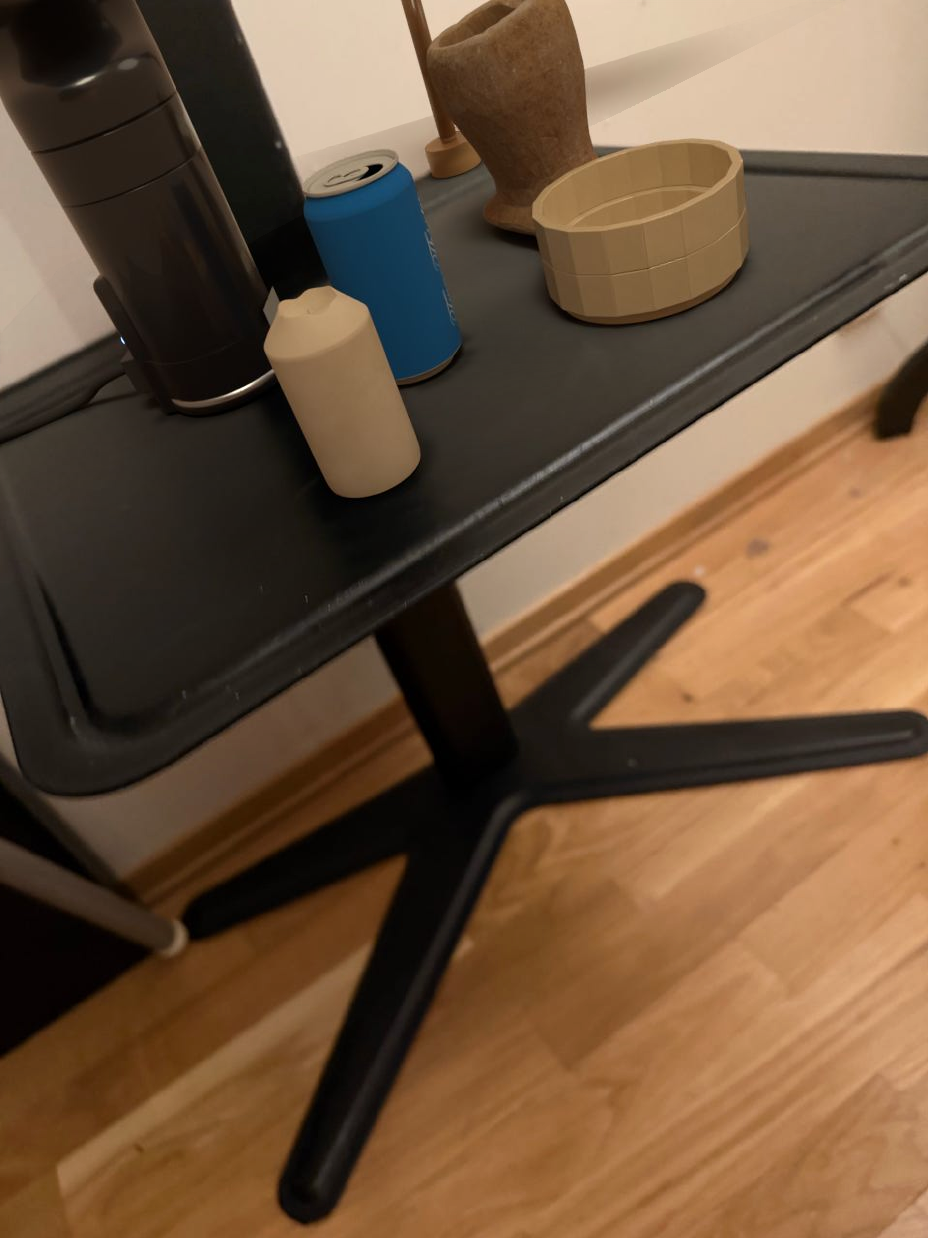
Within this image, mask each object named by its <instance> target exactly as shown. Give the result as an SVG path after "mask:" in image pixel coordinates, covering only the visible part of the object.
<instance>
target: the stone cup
mask: <svg viewBox="0 0 928 1238" xmlns="http://www.w3.org/2000/svg"><path fill="white" fill-rule="evenodd" d="M427 67H428V70H429V74H430V77H431V80H432V83H433V86H434V89H435V91H436V93H437V95H438V97H439V99H440V101H441V103H442V105H443V107H444V109H445V111H446V112H447V114H448V115H449V117H450V118H451V120H452V121H453V123H454V125H455V128H457V130H458V131H459V130H460V132H461V133H462V135H463V136H464V137H465V138H466V140H467V141H468V142H469V143H470V145H471V146H472V147H473V148H474V150H475V151H476V153H477V154H478V155H479V157H480V158H481V162H482V163H483V164H484V166H485V168H486V169H487V171H488V172H489V174H490V176H491V177H492V180H493V182H494V185H495V192H496V193H495V195H493V196H492V197H491V199H489V201H488V202H487V203H486V205H485V206H484V207H483V213H482V215H483V217H484V219H485V220H486V222H488V224H491V225H492V226H494V227H496V228H498V229H501V230H506V231H509V232H513V233H517V234H521V235H522V234H523V235H528V236H535V237H536V233H535V228H534V224H533V219H532V204H533V202H534V201H535V200H536V199H537V197H538V196H539V195H540V193H541V192H542V191H543V190H544V189H545V188H546V187H547V186H549V185H550V184H552V183H553V182H554V181H556V180H557V179H559V178H560V177H561V176H563V175H564V174H566V173H568V172H570V171H572V170H574V169H576V168H578V167H580V166H582V165H584V164H586V163H588V162H590V161H592V160H595V159H598V158H600V157H599V156H598V155H597V153H596V151H595V150H594V146H593V142H592V138H591V137H592V136H591V134H590V127H589V118H588V106H587V91H586V90H587V89H586V88H587V87H586V71H585V65H584V59H583V55H582V50H581V47H580V42H579V38H578V34H577V31H576V27H575V24H574V20H573V17H572V13H571V11H570V8H569V6H568V4H567V1H566V0H488V1H486V2H484V3H483V4H481V5H480V6H478V7H476V8H474V9H473V10H471V11H470V12H468V13H467V14H465V15H464V16H463V17H462V18H461V19H460V20H459V21H457V23H454V24H452V25H450V26H449V27H447V28H444V30H443V31H441V32H440V33H439V34H438V35H437V36H436V37H434V39H433V40H432V43H431V45H430V46H429V48H428V50H427Z"/></svg>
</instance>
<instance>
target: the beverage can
mask: <svg viewBox="0 0 928 1238" xmlns="http://www.w3.org/2000/svg"><path fill="white" fill-rule="evenodd" d="M399 160H400V159H399V154H398V152H397V151H396V150H395V149H390V148H389V149H388V148H383V149H382V148H381V149H380V148H379V149H374V150H368V151H364V152H360V153H356V154H352V155H349V156H347V157H344V158H341V159H339V160H337V161H335V162H332V163H330V164H327V166H324V167H323V168H321V169H319V170H318V171H316V172H314V173H313V174H312V175H310V176H309V177H308V178H307V179H305V181H304V182H303V183H302V186H301V190H302V193H303V195H304V196H305V199H304V204H303V216H304V219H305V222H306V225H307V227H308V229H309V232H310V234H311V237H312V239H313V242H314V244H315V247H316V249H317V252H318V254H319V257H320V260H321V261H322V265H323V267H324V270H325V272H326V275H327V278H328V281H329V283H330V286H331V287H332V288H334V289H336V290H337V291H339V292H341V293H343V294H345V295H347V296H349V297H351V298H353V299H355V300H357V301H360V302H361V303H363V304H365V305H366V306H367V308H368V310H369V312H370V315H371V318H372V320H373V323H374V326H375V328H376V331H377V334H378V336H379V339H380V342H381V344H382V347H383V350H384V352H385V355H386V358H387V360H388V363H389V366H390V368H391V371H392V374H393V376H394V379H395V382H396V385H397V386H400V385H401V386H403V385H410V384H415V383H418V382H421V381H425V380H426V379H429V378H431V377H433V376H435V375H437V374H439V373H440V372H441V371H442V370H444V369H445V368H446V367H447V366H449V364H450V363H451V362H452V361H453V359H454V355H455V354H457V352H458V350H459V349H460V347H461V345H462V342H463V337H462V333H461V331H460V326H459V323H458V320H457V316H456V314H455V310H454V307H453V304H452V300H451V297H450V294H449V291H448V288H447V284H446V280H445V277H444V274H443V271H442V268H441V265H440V262H439V258H438V255H437V252H436V249H435V245H434V242H433V239H432V235H431V233H430V229H429V226H428V223H427V219H426V216H425V213H424V212H425V211H424V209H423V207H422V203H421V200H420V199H421V198H420V197H419V193H418V190H417V187H416V184H415V180H414V177H413V175H412V173H411V171H410V170H409V169H408V168H407V167H406V166H405V165H403V164H402V163H401V162H400V161H399Z"/></svg>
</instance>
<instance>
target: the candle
mask: <svg viewBox="0 0 928 1238" xmlns="http://www.w3.org/2000/svg"><path fill="white" fill-rule="evenodd" d="M279 302H280V303H279V305H278V309H277V313H276V316H275V319H274V321H273V323H272V325H271V327H270V330H269V332H268V334H267V337H266V340H265V343H264V351H265V353H266V355H267V357H268V360H269V362H270V364H271V366H272V368H273V370H274V372H275V374H276V377H277V379H278V381H279V382H278V383H279V385H280V387H281V390H282V391H283V393H284V395H285V398H286V400H287V402H288V404H289V406H290V408H291V411H292V413H293V415H294V417H295V420H296V421H297V424H298V425H299V427H300V430H301V431H302V435H303V436H304V438H305V440H306V442H307V445H308V446H309V448H310V451H311V453H312V455H313V456H314V460H316V463H317V466H318V469H320V472H321V473H322V476H323V478H324V480H325V482H326V484H327V486H328V487H329V488H330V489H331V491H332V492H333V493H334V494H335V495H337V496H340V497H343V498H348V499H349V498H350V499H360V498H366V497H371V496H374V495H378V494H381V493H384V492H386V491H388V490H390V489H392V488H395V487H396V486H397V485H399V484H401V483H402V482H403V481H406V479H407V478H408V477H410V476H411V474H412V473H413V472H414V471H415V470H416V468H417V467H418V465H419V464H420V460H421V448H420V445H419V441H418V439H417V435H416V433H415V429H414V427H413V425H412V422H411V420H410V417H409V414H408V411H407V408H406V406H405V404H404V401H403V397H402V395H401V393H400V389H399V387H398V385H396V382H395V379H394V376H393V374H392V371H391V368H390V366H389V363H388V360H387V358H386V355H385V352H384V350H383V347H382V344H381V342H380V339H379V336H378V334H377V331H376V328H375V326H374V323H373V320H372V318H371V315H370V312H369V310H368V308H367V306H366V305H365V304H363V303H361V302H360V301H357V300H355V299H353V298H351V297H349V296H347V295H345V294H343V293H341V292H339V291H337V290H336V289H334V288H332V285H325V286H320V287H312V288H307V290H304V292H303V293H301V295H299V296H298V297H297V298H293V299H284V300H281V301H279Z"/></svg>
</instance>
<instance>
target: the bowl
mask: <svg viewBox="0 0 928 1238" xmlns="http://www.w3.org/2000/svg"><path fill="white" fill-rule="evenodd" d="M744 169H745V168H744V159H743V158H742V155H741V153H740V151H739V149H738V148H737V147H736V146H733V145H731V144H728V143H726V142H724V141H721V140H716V139H705V138H691V137H690V138H681V139H669V140H660V141H655V142H651V143H650V142H649V143H646V144H641V145H636V146H632V147H628V148H624V149H621V150H618V151H616V152H612V153H609V154H607V155H604V156H601V157H599V158H598V159H595V160H592V161H590V162H588V163H586V164H584V165H582V166H580V167H578V168H576V169H574V170H572V171H570V172H568V173H566V174H564V175H563V176H561V177H560V178H559V179H557V180H556V181H554V182H553V183H552V184H550V185H549V186H547V187H546V188H545V189H544V190H543V191H542V192H541V193H540V195H539V196H538V197H537V199H536V200H535V201H534V202H533V204H532V219H533V224H534V228H535V233H536V236H535V237H536V240H537V245H538V249H539V254H540V257H541V263H542V267H543V272H544V276H545V281H546V285H547V290H548V293H549V294H548V295H549V298H550V299H551V300H552V301H553V302H555V304H557V305H558V307H559V308H560V309H561V310H563V311H566V312H567V314H569V315H570V316H571V317H573V318H576V319H577V320H580V321H584V322H587V323H593V324H599V325H628V324H637V323H643V322H649V321H652V320H653V321H654V320H658V319H662V318H665V317H669V316H672V315H674V314H675V315H676V314H679V313H680V312H681V313H682V312H683V311H686V310H688V309H690V308H693V307H695V306H697V305H699V304H701V303H703V302H705V301H707V300H708V299H710V298H712V297H713V296H714V295H716V294H718V293H719V292H721V290H723V289H724V288H725V287H726V286H727V285H729V283H730V282H731V281H732V280H733V279H734V277H735V275H736V274H737V271H738V270H739V269H740V268H742V266H743V263H744V261H745V259H746V257H747V254H748V252H749V249H750V242H749V227H748V212H747V211H748V210H747V197H746V183H745V170H744Z"/></svg>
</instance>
